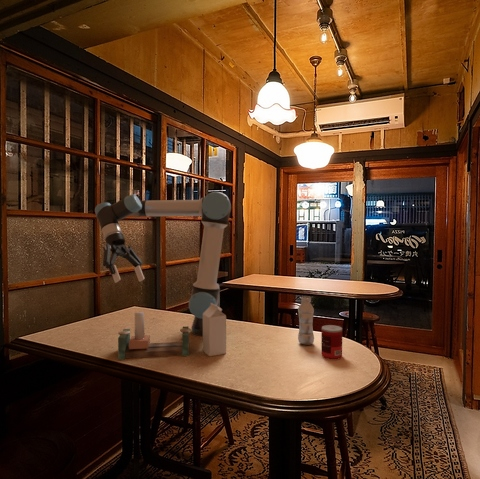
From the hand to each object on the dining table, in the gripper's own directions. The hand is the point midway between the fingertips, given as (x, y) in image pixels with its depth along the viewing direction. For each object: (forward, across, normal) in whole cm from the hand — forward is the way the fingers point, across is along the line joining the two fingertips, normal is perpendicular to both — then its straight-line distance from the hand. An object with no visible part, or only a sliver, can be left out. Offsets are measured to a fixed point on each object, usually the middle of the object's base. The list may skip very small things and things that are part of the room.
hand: (130, 280), depth 144 cm
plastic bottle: (+53, -39, +42) cm, 78 cm away
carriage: (+25, +1, -6) cm, 26 cm away
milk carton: (+40, -13, +15) cm, 45 cm away
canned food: (+61, -29, +52) cm, 85 cm away
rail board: (+30, -3, -4) cm, 30 cm away
